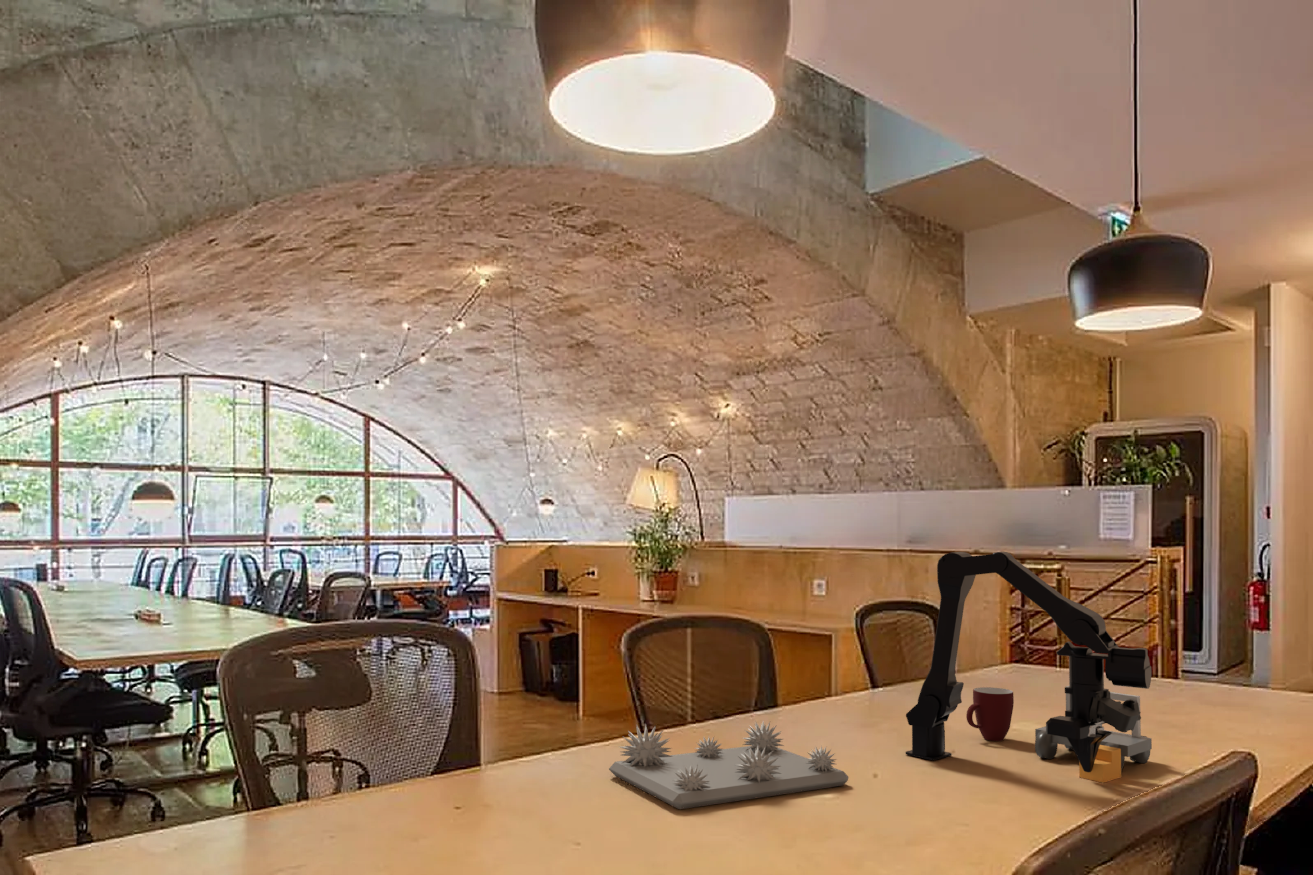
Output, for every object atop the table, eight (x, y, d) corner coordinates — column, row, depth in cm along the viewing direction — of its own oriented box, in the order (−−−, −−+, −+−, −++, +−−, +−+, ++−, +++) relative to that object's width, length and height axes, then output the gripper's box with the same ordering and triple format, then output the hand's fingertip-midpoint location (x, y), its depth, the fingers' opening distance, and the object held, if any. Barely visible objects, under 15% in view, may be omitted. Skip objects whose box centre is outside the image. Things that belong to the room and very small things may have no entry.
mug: (985, 746, 207) (985, 696, 208) (956, 738, 214) (956, 689, 215) (1022, 741, 212) (1021, 692, 213) (992, 733, 219) (992, 686, 220)
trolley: (1120, 776, 185) (1119, 705, 186) (1027, 757, 198) (1026, 691, 199) (1158, 762, 195) (1157, 695, 196) (1068, 745, 209) (1067, 682, 210)
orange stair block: (1103, 782, 181) (1102, 753, 181) (1079, 777, 184) (1079, 749, 184) (1121, 777, 185) (1120, 748, 185) (1097, 772, 188) (1097, 744, 188)
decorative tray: (676, 817, 159) (676, 751, 160) (604, 777, 182) (604, 720, 183) (853, 789, 176) (853, 730, 177) (766, 756, 199) (766, 704, 199)
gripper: (1106, 694, 171) (1108, 790, 170) (1155, 683, 183) (1157, 772, 182) (1043, 685, 179) (1044, 776, 178) (1094, 675, 191) (1095, 760, 190)
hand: (1087, 771), depth 182 cm, fingers closed
